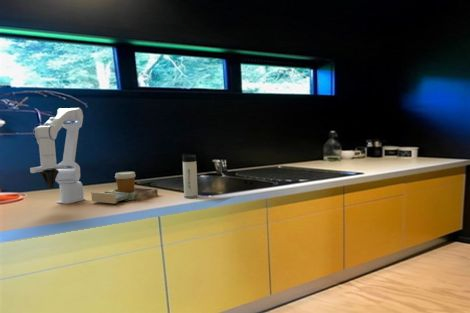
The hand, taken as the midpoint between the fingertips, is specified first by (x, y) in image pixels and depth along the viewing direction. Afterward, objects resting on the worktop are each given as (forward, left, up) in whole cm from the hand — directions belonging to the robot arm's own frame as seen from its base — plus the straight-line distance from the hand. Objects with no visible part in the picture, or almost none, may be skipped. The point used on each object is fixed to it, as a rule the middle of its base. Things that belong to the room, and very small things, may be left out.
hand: (50, 188), depth 145 cm
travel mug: (-42, +40, -10) cm, 59 cm away
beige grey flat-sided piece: (-22, +12, -9) cm, 27 cm away
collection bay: (-32, +12, -9) cm, 35 cm away
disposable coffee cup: (-29, +12, -10) cm, 33 cm away
